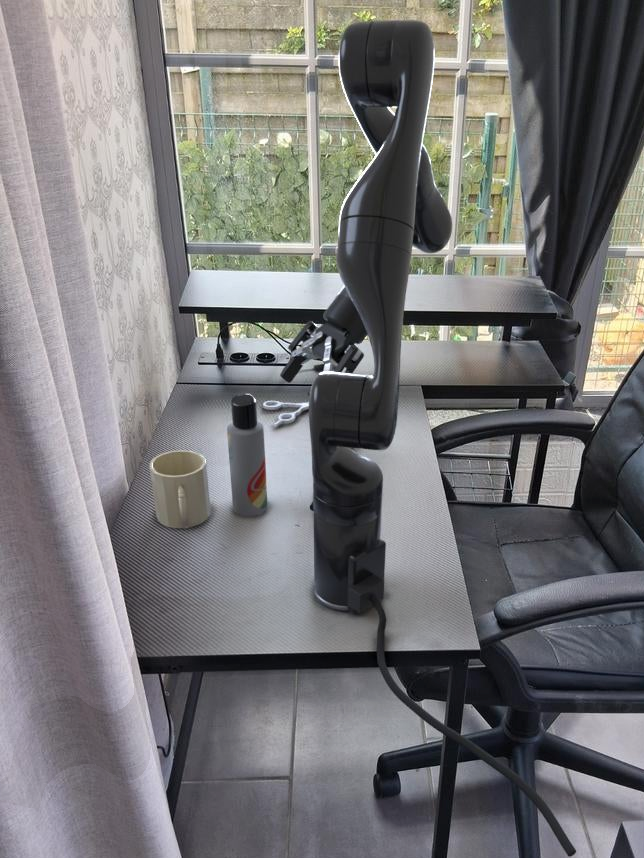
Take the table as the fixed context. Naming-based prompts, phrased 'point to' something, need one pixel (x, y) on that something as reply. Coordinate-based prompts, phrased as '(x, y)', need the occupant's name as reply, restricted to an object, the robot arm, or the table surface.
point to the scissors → (279, 404)
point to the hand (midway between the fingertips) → (298, 389)
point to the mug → (180, 488)
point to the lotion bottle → (247, 457)
